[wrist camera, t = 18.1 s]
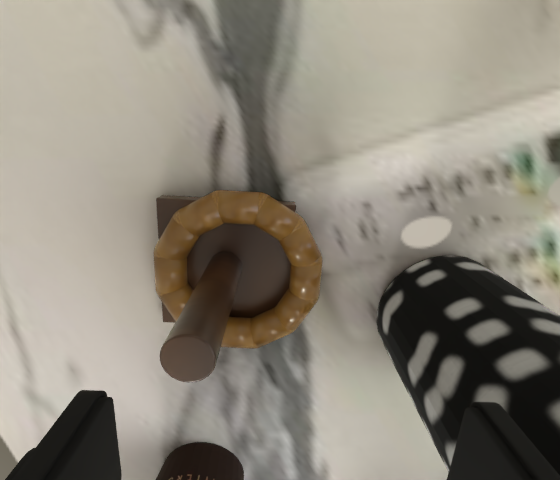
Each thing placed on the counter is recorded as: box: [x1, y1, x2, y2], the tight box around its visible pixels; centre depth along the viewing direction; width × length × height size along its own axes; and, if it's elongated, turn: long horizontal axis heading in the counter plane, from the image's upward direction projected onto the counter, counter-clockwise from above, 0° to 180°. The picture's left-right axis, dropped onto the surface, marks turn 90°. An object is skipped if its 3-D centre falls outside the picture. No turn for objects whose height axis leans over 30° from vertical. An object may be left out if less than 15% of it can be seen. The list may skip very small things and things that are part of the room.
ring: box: [154, 190, 322, 348], centre depth 20 cm, size 10×10×2 cm
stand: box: [156, 195, 296, 382], centre depth 17 cm, size 8×8×10 cm
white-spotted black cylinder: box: [377, 256, 560, 475], centre depth 13 cm, size 8×8×20 cm
